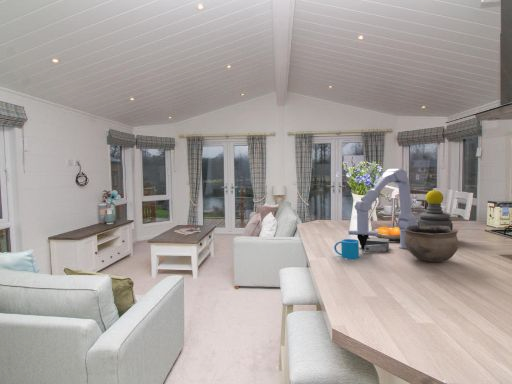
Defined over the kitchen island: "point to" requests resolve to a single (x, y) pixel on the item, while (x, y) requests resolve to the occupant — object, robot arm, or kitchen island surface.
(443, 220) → the decorative lamp
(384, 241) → the camera body
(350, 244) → the mug
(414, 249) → the ceramic bowl
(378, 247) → the side door
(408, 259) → the kitchen island surface
